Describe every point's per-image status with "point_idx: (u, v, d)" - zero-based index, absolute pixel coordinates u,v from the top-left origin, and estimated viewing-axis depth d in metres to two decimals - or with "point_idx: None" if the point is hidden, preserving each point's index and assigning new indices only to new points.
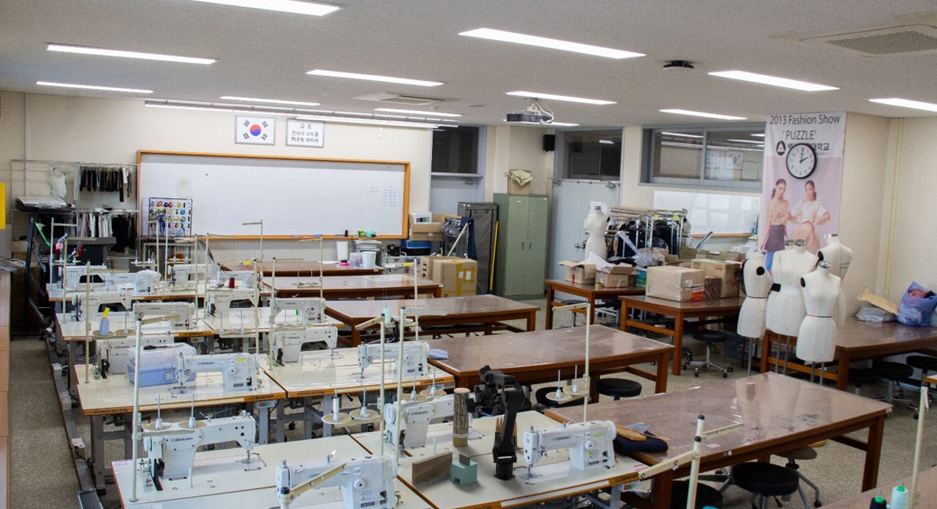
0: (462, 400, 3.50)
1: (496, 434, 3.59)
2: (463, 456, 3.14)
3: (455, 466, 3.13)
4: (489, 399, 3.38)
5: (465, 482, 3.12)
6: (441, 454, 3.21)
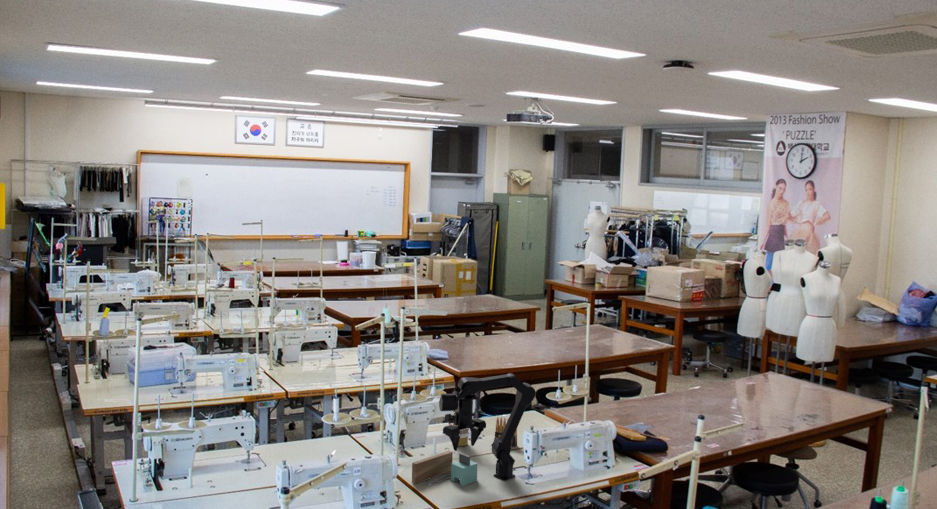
0: None
1: (496, 434, 3.59)
2: (463, 456, 3.14)
3: (455, 466, 3.13)
4: (469, 414, 3.11)
5: (465, 482, 3.12)
6: (441, 454, 3.21)
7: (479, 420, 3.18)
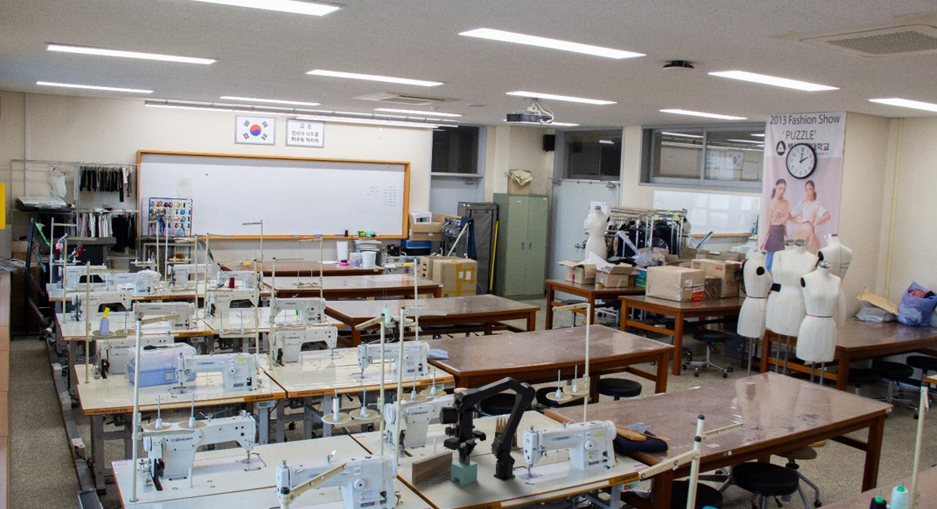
0: None
1: (496, 434, 3.59)
2: None
3: (455, 466, 3.13)
4: (469, 427, 3.11)
5: (465, 482, 3.12)
6: (441, 454, 3.21)
7: (479, 432, 3.18)
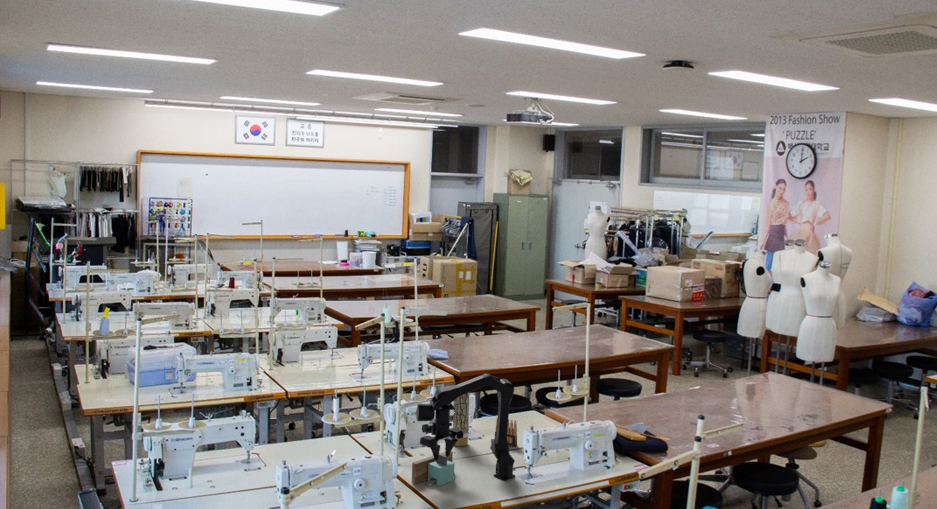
0: (462, 400, 3.50)
1: None
2: (440, 456, 3.14)
3: (432, 466, 3.12)
4: (446, 424, 3.10)
5: (442, 482, 3.11)
6: None
7: (456, 430, 3.17)
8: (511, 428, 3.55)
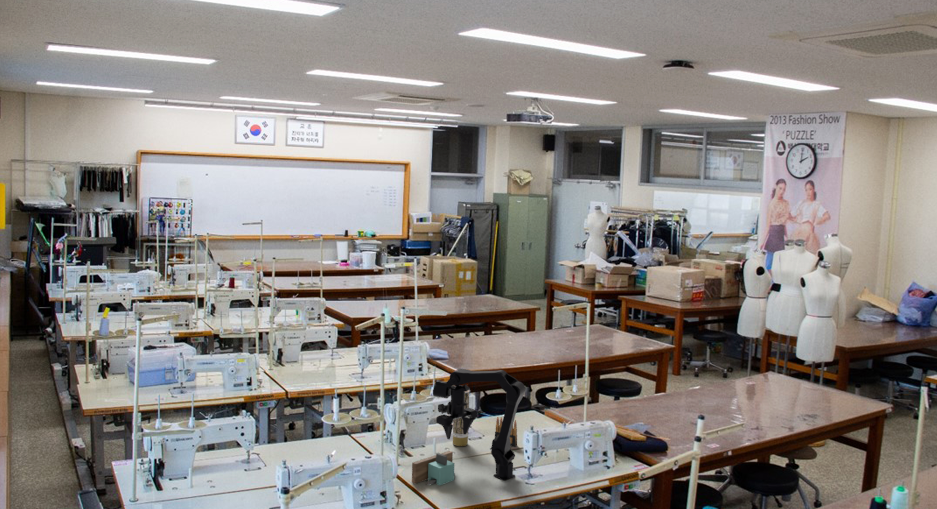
0: None
1: (496, 434, 3.59)
2: (440, 456, 3.14)
3: (432, 466, 3.12)
4: (461, 404, 3.24)
5: (442, 482, 3.11)
6: None
7: (471, 409, 3.31)
8: None
